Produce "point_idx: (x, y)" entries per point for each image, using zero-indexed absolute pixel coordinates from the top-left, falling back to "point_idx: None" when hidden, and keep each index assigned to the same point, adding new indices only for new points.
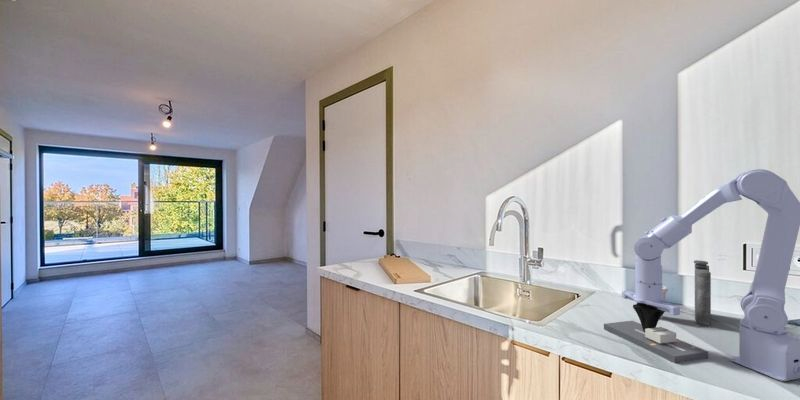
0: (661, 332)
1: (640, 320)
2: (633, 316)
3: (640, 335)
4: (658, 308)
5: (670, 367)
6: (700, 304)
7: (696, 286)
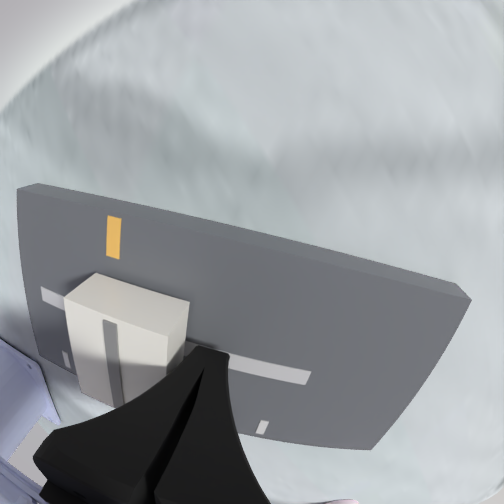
0: (93, 348)
1: (225, 408)
2: (390, 479)
3: (233, 316)
4: (39, 491)
5: (28, 127)
6: None
7: None
